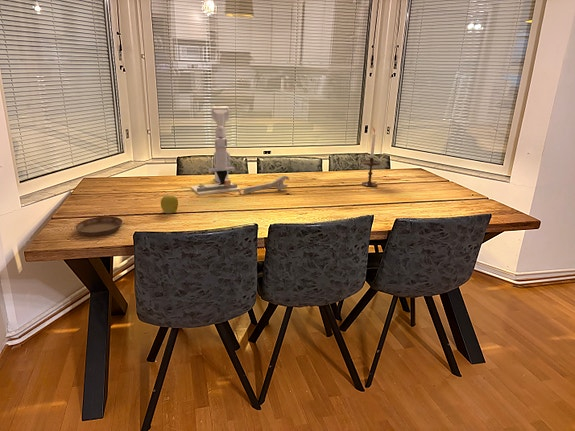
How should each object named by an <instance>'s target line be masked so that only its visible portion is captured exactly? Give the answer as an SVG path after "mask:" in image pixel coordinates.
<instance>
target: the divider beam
mask: <svg viewBox="0 0 575 431" xmlns="http://www.w3.org/2000/svg"><path fill="white" fill-rule="evenodd" d="M232 184H233V185H231V186H225V185H223V186H214V187H205V186H204V185H205V184H202V183H199V184H198V185H200V188H197V192H200V191H209V190H218V189H227V188H236V187H238V184H236V183H232Z"/></svg>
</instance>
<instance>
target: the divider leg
mask: <svg viewBox="0 0 575 431" xmlns="http://www.w3.org/2000/svg"><path fill="white" fill-rule="evenodd" d="M231 183H232V180H230V179H229V178H228V179H225V181H224V184H223V185H225V186H231Z"/></svg>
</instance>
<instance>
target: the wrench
mask: <svg viewBox="0 0 575 431" xmlns="http://www.w3.org/2000/svg"><path fill="white" fill-rule="evenodd" d="M285 180H286V181H290V178H289V177H288V176H286V175H281V176H279V177H278V178H277V179H275V180H273V181H271V182H267V183H263V184H257V185H252V186H247V187H243V188H242V187H241V188H240V190H239V191H238V193H239V194H240V195H245V194H250V193H254V192H259V191H264V190H267V189H272V188H274V189H277V191H282V190H283V189H285V188H287V187H289V185H288V184H285V183H284V181H285ZM241 191H243V192H241Z"/></svg>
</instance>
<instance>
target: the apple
mask: <svg viewBox="0 0 575 431" xmlns="http://www.w3.org/2000/svg"><path fill="white" fill-rule="evenodd" d="M160 208H161V210H162V212H164V213H165V214H175V213H176V212H177V210H178V208H179V200H178V198H177V197H176V195H168V194H166V195H164V196H162V198H161V200H160Z"/></svg>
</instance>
